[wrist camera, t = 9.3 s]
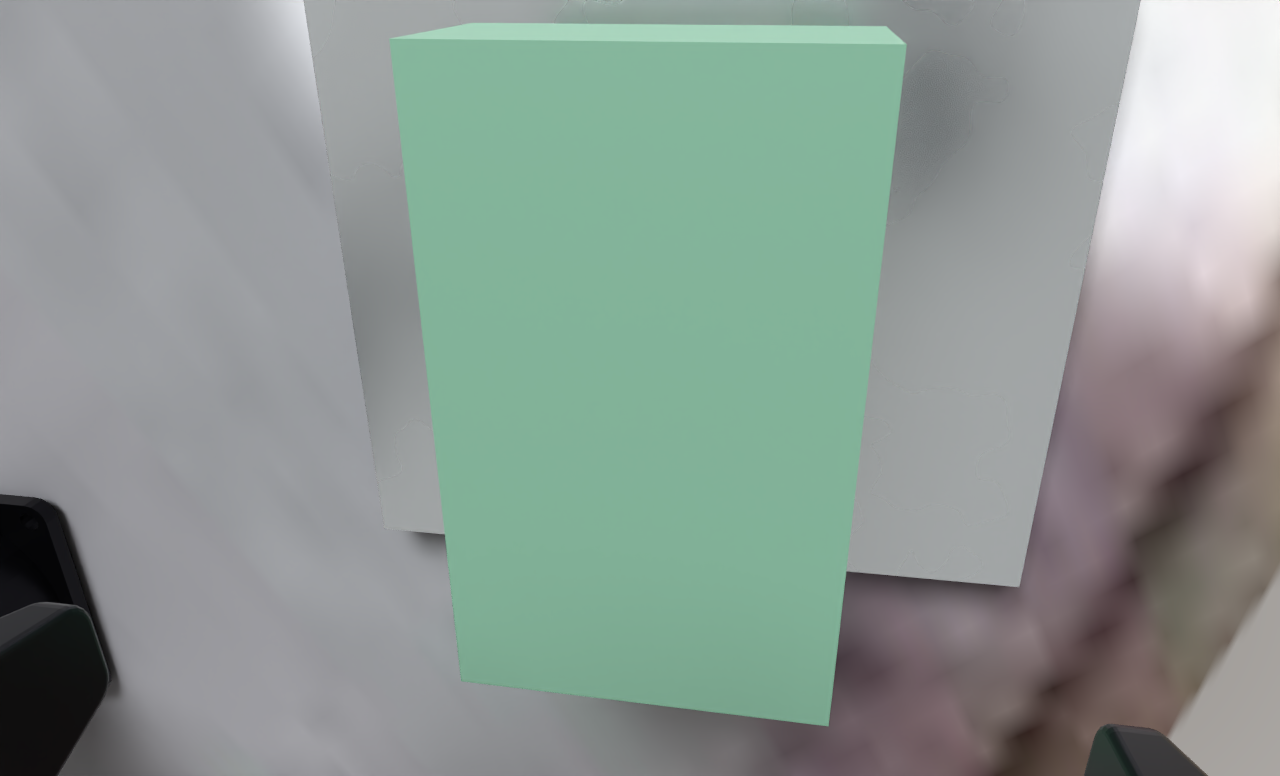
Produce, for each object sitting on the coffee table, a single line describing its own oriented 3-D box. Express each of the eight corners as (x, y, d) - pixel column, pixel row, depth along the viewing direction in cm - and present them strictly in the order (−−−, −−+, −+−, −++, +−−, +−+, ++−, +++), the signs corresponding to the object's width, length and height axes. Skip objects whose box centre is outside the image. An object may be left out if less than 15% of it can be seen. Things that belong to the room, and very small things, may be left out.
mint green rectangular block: (825, 605, 17) (828, 725, 14) (513, 572, 18) (461, 681, 15) (886, 26, 13) (906, 44, 10) (472, 22, 14) (389, 38, 11)
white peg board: (1007, 553, 20) (1047, 670, 17) (404, 501, 22) (334, 596, 19) (1127, -54, 15) (1217, -58, 12) (328, -46, 17) (213, -46, 14)
